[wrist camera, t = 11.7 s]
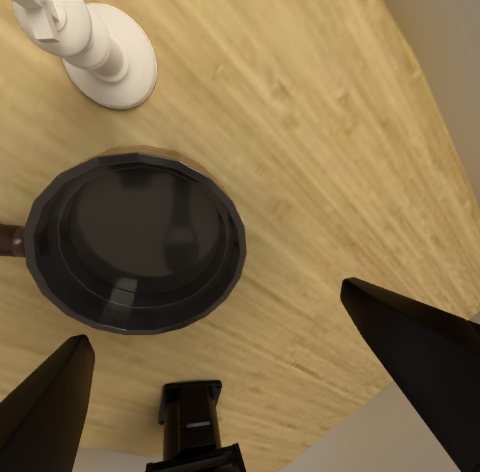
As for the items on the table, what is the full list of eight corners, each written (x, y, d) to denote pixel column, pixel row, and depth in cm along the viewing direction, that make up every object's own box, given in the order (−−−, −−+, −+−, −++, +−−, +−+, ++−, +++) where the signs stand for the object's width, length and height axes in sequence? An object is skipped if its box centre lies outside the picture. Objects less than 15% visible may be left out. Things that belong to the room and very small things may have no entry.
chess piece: (83, 113, 15) (-42, 117, 6) (45, 7, 13) (-229, -212, 4) (165, 105, 16) (154, 97, 7) (144, 3, 14) (89, -190, 5)
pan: (217, 301, 24) (225, 333, 20) (58, 297, 20) (34, 337, 16) (250, 165, 19) (267, 177, 15) (47, 123, 15) (9, 126, 11)
